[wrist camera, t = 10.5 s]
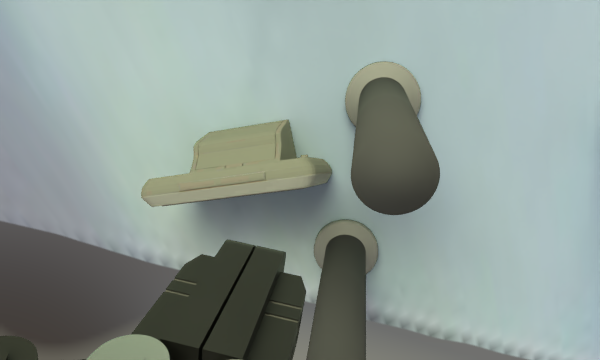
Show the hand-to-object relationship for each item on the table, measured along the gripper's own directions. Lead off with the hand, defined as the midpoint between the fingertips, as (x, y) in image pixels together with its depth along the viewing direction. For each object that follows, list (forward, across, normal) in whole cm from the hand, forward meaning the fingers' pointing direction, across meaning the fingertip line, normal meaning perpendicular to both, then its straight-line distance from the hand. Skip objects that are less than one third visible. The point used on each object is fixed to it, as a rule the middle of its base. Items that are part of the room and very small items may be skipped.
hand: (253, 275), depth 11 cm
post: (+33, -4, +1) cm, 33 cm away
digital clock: (+33, +8, +10) cm, 35 cm away
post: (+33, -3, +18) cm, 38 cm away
